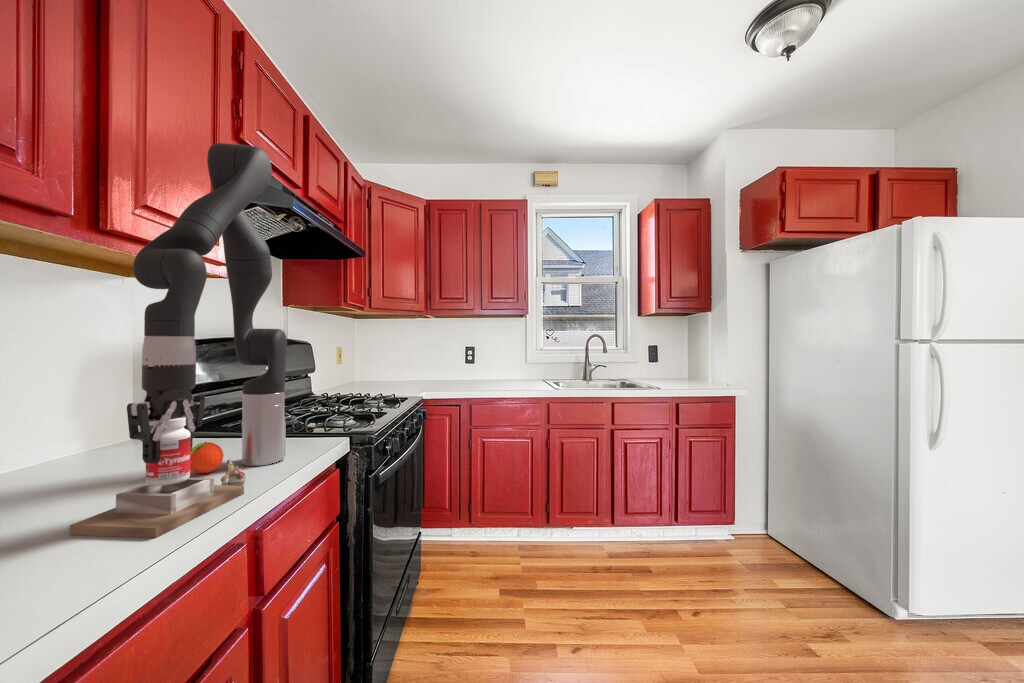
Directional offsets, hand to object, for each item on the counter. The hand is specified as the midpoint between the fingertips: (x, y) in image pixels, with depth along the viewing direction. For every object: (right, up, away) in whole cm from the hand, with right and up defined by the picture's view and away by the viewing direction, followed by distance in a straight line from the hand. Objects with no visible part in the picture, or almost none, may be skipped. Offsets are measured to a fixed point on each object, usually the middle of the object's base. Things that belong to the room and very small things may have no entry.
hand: (168, 457), depth 78 cm
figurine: (+3, -10, +14) cm, 17 cm away
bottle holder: (0, -10, 0) cm, 10 cm away
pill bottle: (0, -4, 0) cm, 4 cm away
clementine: (-10, -10, +23) cm, 26 cm away
